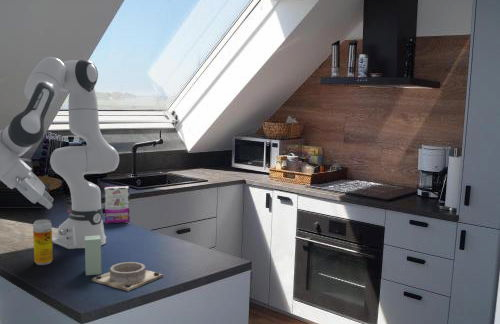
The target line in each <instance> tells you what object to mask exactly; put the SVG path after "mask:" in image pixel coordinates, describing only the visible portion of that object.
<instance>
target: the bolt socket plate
mask: <svg viewBox="0 0 500 324" xmlns="http://www.w3.org/2000/svg"><path fill="white" fill-rule="evenodd" d="M146 267H147V266H146V265H145V264H144V263H141V262H137V261H136V262H135V261H131V262H130V261H127V262H119V263H116V264H113V265H112V266H111V267H110V268H109V271H108V272H106V273H103V274H97V275H95V277H92V278H91V282H95V283H98V284H102V285H104V286H109V287H112V288H115V289H119V290H121V291H122V290H123V291H126V292H130V291H132V290H135V289H136V288H140V287H142V286H144V285H147V284H149V283H151V282H154V281H156V280H158V278H159V279H161V278H163V277H164V274H163V273H160V272H157V271H151V270H147V269H146Z"/></svg>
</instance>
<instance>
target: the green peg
mask: <svg viewBox="0 0 500 324" xmlns="http://www.w3.org/2000/svg"><path fill="white" fill-rule="evenodd" d="M84 259H85V261H84V263H85V264H84V265H85V266H84V267H85V276H92V275H93V276H97V275H103V274H102V245H101V238H100V235H96V236H85V248H84Z"/></svg>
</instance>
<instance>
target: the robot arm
mask: <svg viewBox="0 0 500 324" xmlns="http://www.w3.org/2000/svg"><path fill="white" fill-rule="evenodd" d="M98 78H99V72H98V69H97V66H96V65H95V63H93V62H92V61H91V60H88V59H79V60H77V59H76V60H75V59H74V60H71V59H70V60H64V61H62V60H61V59H59V58H57V57H54V56H47V57H44V58H42V59H41V60H40V61H39V62H38V64H36V65H35V67H34V69H33V70H32V71H31V73H30V74H29V76H28V78H27V81H26V83H25V86H24V90H23V93H24V96H25V98H26V99H27V100H28V102H27V104H26V106H25V108H24V110H23V111H22V112H20V113H18V114H16V116H14V117H13V118H12V119H11V121H10V123H9V124H8V125H7V126H6V127H5V128H4V129H1V130H0V182H2V183H3V184H4V185H6V186H7V187H8V188H9V189H11V190H13V189H14V188H16V189H17V190H18V192H19V193H21V194H22V195H23V196H24V197H25V198H26V199H27V200H29V201H30V202H31V203H33V204H36V203H39V204H40V205H42V206H44V207H45V208H47V210H50V209H51V208H52V207H54V206H53V202H54V197H52V196H51V195H50V194H49V192H48V191H47V190H45V189H46V185H45V184H44V182H43V181H42V180H41V179H40V178H39V177H38V176H37V175H36V174H35V173H34V172H32V170H33V168H32V167H31V166H29V165H28V164H27V163H26V162H25V161H24V160H22V158H20V157H21V156H23V155H25V153H26V152H28V151H29V150H30V149H31V148H32V147H33V146H34V145H36V144H37V143H38V142H40V141H41V140H42V139H43V137H44V132H45V117H46V115H47V113H48V110H49V108H50V106H51V105H52V104H53V103H54V101H55V100H56V99H57V97H58V95H59V93H60V92H68V105H67V106H68V128H69V131H70V133H71V134H72V135H74V136H76V137H78V138H80V139H83V140H84V141H85V143H86V145H79V146H78V145H75V146H74V145H73V146H72V145H71V146H68V145H67V146H64V147H58V148H55V149H54V150H53V151H52V153H51V155H50V160H49V163H50V164H49V165H50V166H51V169H52V170H53V171H54V172H55V174H57V175H59V176H60V177H61V178H62V179H63V180H64V181H65V182H66V184H67V185H68V188H69V192H70V197H71V198H70V199H71V209H68V210H67V209H66V210H67V214H69V216H68V218H67V219H66V220H65V221H64V222H62V223H61V224H59V226H58V228H57V234H56V235H57V236H54V237H52V244H56V245H58V246H61V247H63V248H65V249H67V250H75V249H85V236H96V235H100V238H101V246H102V245H105V244H106V243H107V235H105V226H104V220H103V219H102V217H103V207H102V195H101V194H102V192H101V189H100V187H99V186H98V185H97V184H95V183H93V182H91V181H88V180H87V179H85V177H84V176H85V175H88V174H89V175H90V174H105V173H106V174H107V173H110V172H114V171H116V169H117V168H118V166H119V164H120V155H119V152H118V151H117V149H116V148H115V147H113V146H112V145H111V144H109V142H107V141H106V140H105V138H104V135H103V134H102V132H101V128H100V122H99V107H98V98H97V93H96V89H95V86H96V85H97V83H98Z"/></svg>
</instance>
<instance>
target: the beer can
mask: <svg viewBox="0 0 500 324" xmlns="http://www.w3.org/2000/svg"><path fill="white" fill-rule="evenodd" d="M32 228H33V229H32V234H33V256H34V263H35V264H36V265H38V266H45V265H49V264H51V263H52V261H53V260H54V256H53V254H54V253H53V242H52V238H53V229H52V222H51V220H50V219H45V218H44V219H36V220H35V221H33V224H32Z"/></svg>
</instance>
